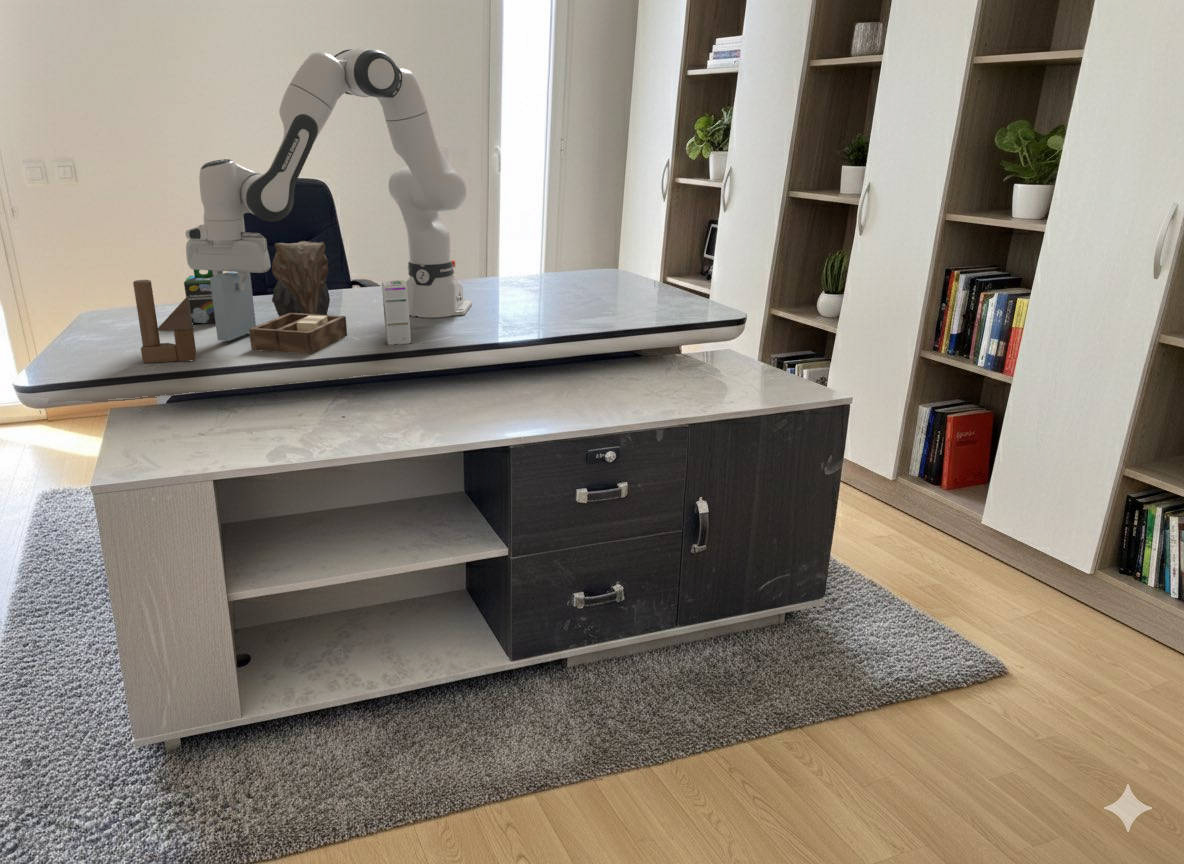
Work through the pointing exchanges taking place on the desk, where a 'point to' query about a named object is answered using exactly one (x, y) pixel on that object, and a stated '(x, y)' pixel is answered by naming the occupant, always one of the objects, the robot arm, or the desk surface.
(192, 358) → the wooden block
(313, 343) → the walnut rack
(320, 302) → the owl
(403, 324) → the syrup box
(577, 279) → the desk surface
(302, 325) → the short pine offcut
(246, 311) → the tall sheet
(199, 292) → the chalk box
